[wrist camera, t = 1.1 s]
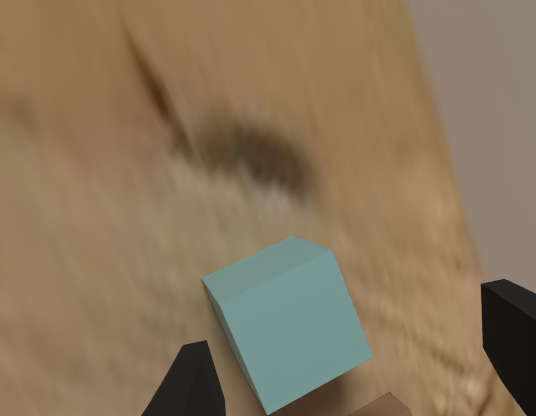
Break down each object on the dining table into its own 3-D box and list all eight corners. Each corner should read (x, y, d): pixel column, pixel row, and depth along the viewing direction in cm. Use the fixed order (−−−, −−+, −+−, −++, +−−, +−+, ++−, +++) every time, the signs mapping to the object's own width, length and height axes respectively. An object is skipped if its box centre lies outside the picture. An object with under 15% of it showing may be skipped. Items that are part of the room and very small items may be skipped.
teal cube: (240, 368, 24) (267, 415, 19) (200, 278, 23) (219, 304, 18) (326, 322, 25) (373, 356, 20) (292, 235, 24) (332, 249, 20)
